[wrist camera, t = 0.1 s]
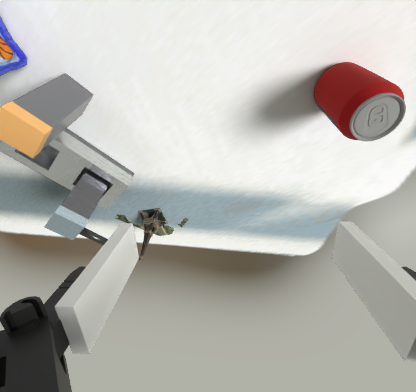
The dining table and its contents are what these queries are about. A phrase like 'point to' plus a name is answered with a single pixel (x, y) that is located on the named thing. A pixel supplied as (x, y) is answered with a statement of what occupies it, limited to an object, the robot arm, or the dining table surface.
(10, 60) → the lunch bag
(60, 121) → the plug
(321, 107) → the beverage can
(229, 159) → the dining table surface
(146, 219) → the eiffel tower figurine
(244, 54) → the dining table surface
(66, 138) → the pdu strip
